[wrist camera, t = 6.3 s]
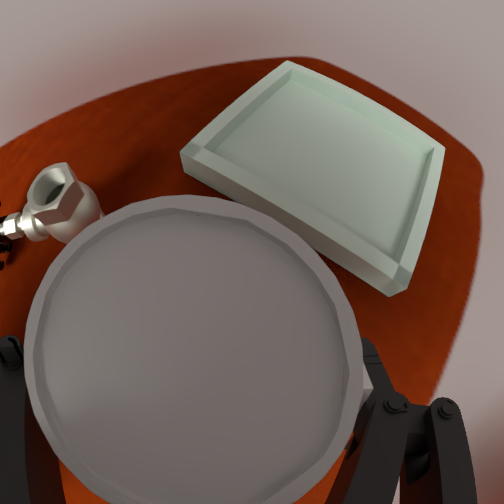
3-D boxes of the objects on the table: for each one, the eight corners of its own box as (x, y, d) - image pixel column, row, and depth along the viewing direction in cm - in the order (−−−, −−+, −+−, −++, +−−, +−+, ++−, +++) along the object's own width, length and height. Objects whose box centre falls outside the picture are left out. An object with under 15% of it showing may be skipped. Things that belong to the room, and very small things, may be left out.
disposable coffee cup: (156, 439, 15) (58, 524, 3) (132, 299, 18) (18, 217, 7) (303, 417, 16) (401, 491, 5) (273, 276, 19) (324, 160, 8)
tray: (184, 172, 22) (179, 151, 19) (283, 78, 27) (286, 60, 24) (388, 297, 19) (406, 288, 17) (433, 162, 24) (445, 147, 22)
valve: (117, 191, 21) (11, 216, 20) (85, 137, 15) (-29, 180, 13) (113, 270, 19) (1, 284, 17) (68, 231, 12) (-49, 259, 11)
